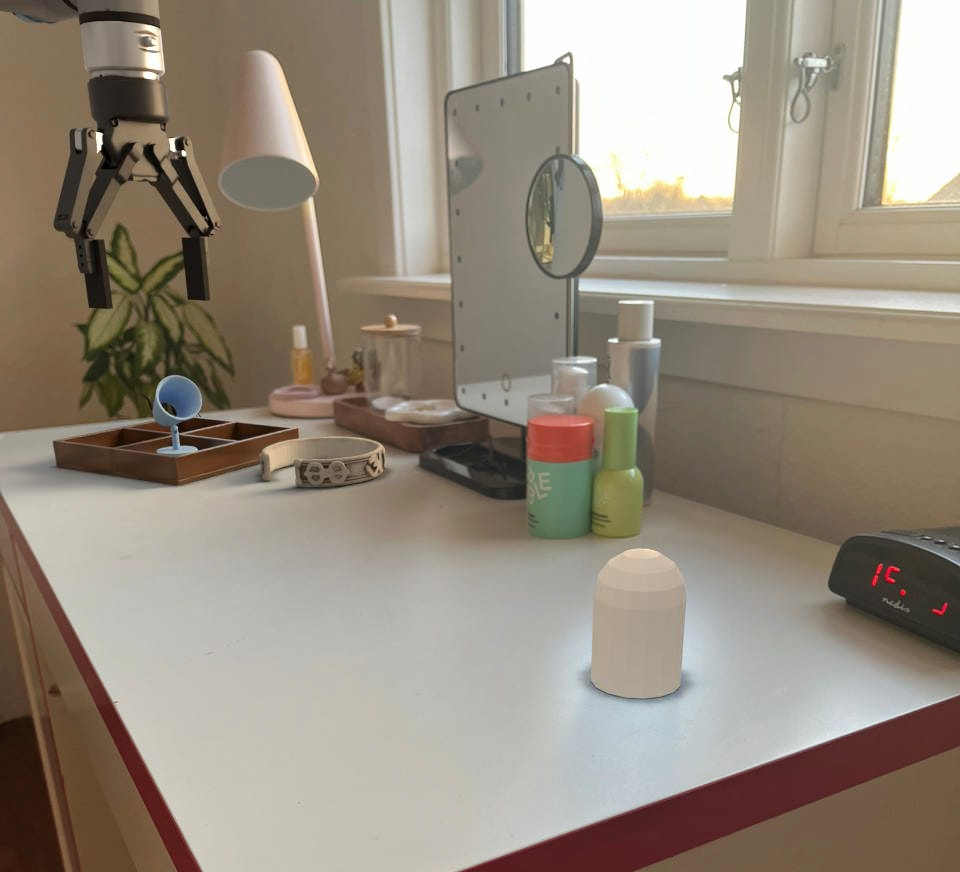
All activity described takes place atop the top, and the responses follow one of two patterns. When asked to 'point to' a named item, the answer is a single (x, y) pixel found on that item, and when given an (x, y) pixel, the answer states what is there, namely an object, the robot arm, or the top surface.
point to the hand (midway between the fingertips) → (152, 304)
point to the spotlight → (186, 405)
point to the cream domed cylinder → (638, 625)
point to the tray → (137, 446)
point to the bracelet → (325, 460)
